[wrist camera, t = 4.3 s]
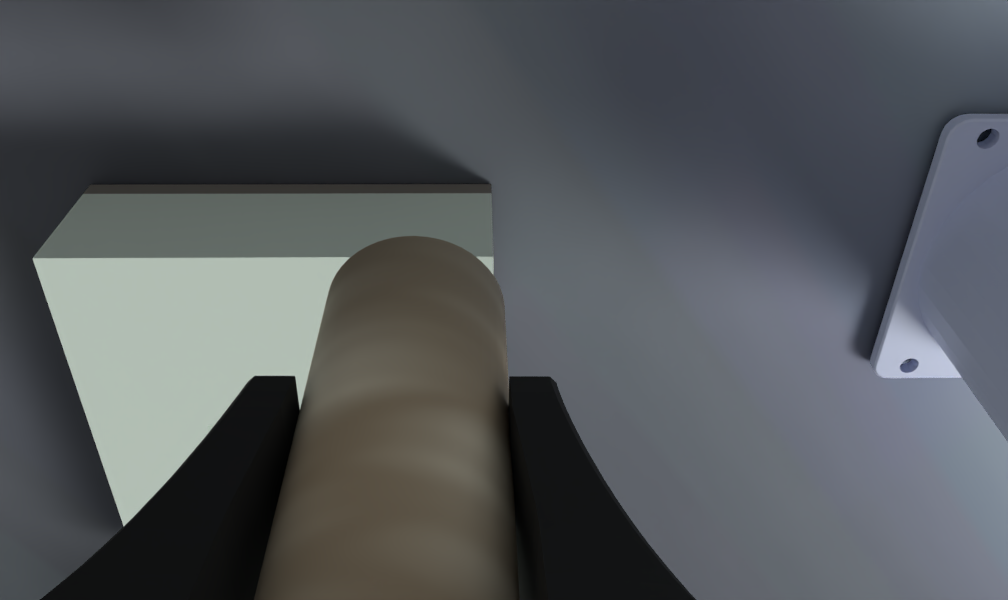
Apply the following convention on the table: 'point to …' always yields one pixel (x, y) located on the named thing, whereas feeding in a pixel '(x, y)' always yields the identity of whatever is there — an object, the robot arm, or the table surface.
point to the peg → (401, 438)
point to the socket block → (213, 298)
